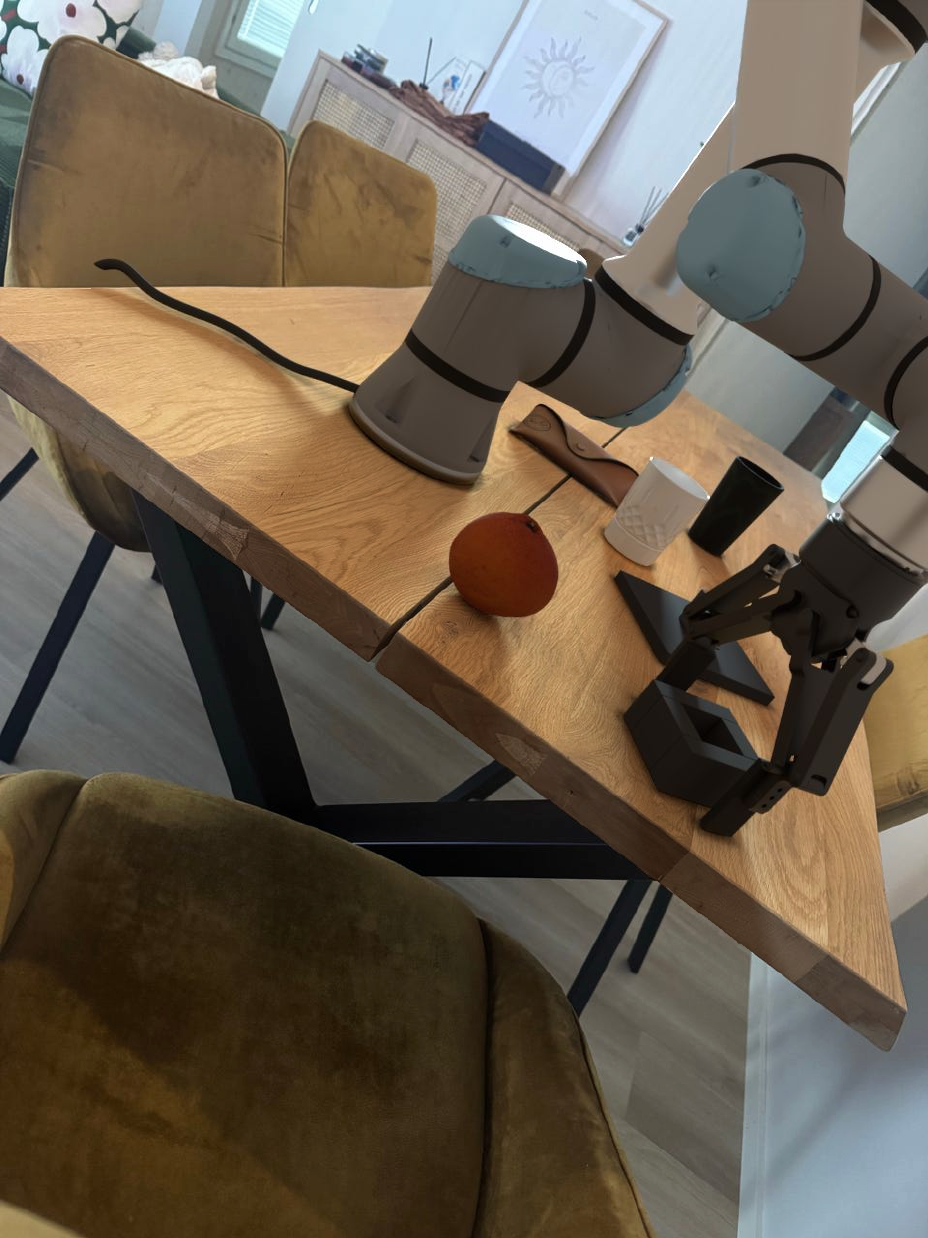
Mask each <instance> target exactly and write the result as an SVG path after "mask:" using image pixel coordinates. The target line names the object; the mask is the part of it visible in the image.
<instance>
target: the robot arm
mask: <svg viewBox="0 0 928 1238" xmlns="http://www.w3.org/2000/svg"><path fill="white" fill-rule="evenodd" d="M924 44H928V0H746V7H745V16H744V24H743V32H742V40H741V48H740V55H739V56H740V57H739V65H738V72H737V81H736V89H735V97H734V102H733V103H732V104H731V106H730V107H729V109H728V110H727V112H726V113H725V115H724V116H723V117H722V119H721V120H720V122H719V123H718V125H717V126H716V127H715V129H714V130H713V132H712V133H711V134H710V136H709V137H708V138H707V140H706V142H705V143H704V145H703V146H702V147H701V149H700V150H699V152H698V153H697V154H696V155H695V157H694V158H693V160H692V161H691V163H690V164H689V166H688V167H687V168H686V170H685V171H684V173H683V174H682V176H681V177H680V179H679V180H678V182H677V183H676V184H675V186H673V188H672V190H671V191H670V193H669V194H668V195H667V197H666V198H665V200H664V201H663V202H662V204H661V205H660V207H659V208H658V210H657V211H656V213H655V214H654V215H653V217H652V218H651V220H650V221H649V222H648V224H647V225H646V227H645V228H644V229H643V231H642V232H641V233H640V236H639V237H638V238H637V240H636V241H635V242H634V244H633V245H632V247H631V248H630V249H629V251H628V253H626V254H624V255H620V256H614V257H610V258H606V259H604V260H603V261H602V263H601V264H600V265H599V267H598V269H597V270H596V272H595V273H594V274H593V275H592V277H591V278H587V277H586V272H587V268H588V264H587V262H586V260H585V259H584V258H583V257H582V256H581V255H580V254H579V253H577V252H576V251H574V250H573V249H571V248H570V247H569V246H567V245H565V244H563V243H562V242H559V241H557V240H555V239H553V238H551V237H550V236H549V235H547V234H545V233H543V232H541V231H539V230H537V229H535V228H532V227H530V226H528V225H526V224H524V223H521V222H519V221H516V220H513V219H510V218H507V217H504V216H502V215H496V214H482V215H478V216H476V217H474V219H472V220H471V221H470V222H469V223H468V225H467V227H466V228H465V230H464V231H463V233H462V235H461V236H460V238H459V239H458V241H457V243H456V244H455V246H454V247H452V248H451V249H450V251H449V252H448V256H447V259H446V262H445V263H444V265H443V266H442V269H441V271H440V272H439V274H438V276H437V279H436V280H435V282H434V284H433V285H432V288H431V290H430V291H429V293H428V295H427V297H426V298H425V300H424V303H423V305H422V306H421V307H420V310H419V312H418V313H417V315H416V317H415V319H414V320H413V323H412V325H411V327H410V329H409V330H408V332H407V334H406V336H405V337H404V339H403V341H402V342H401V344H400V346H399V347H398V348H397V349H396V350H395V351H394V352H393V353H392V354H390V355H389V356H388V358H386V359H385V360H384V361H383V362H382V363H381V364H380V365H379V366H377V368H376V369H374V371H372V372H371V373H370V374H369V375H368V376H367V377H366V378H365V379H363V381H361V383H360V384H359V383H356V382H354V381H350V380H348V379H345V378H342V377H340V376H337V375H334V374H331V373H328V372H326V371H322V370H319V369H316V368H312V367H310V366H306V365H303V364H301V363H298V362H296V361H293V360H292V359H290V358H288V357H286V356H285V355H282V354H281V353H279V352H277V351H276V350H275V349H273V348H272V347H270V346H269V345H268V344H266V343H264V342H263V341H262V340H261V339H260V338H258V337H256V336H254V335H253V334H252V333H250V332H248V331H247V330H245V328H242V327H240V326H239V325H237V324H235V323H233V322H231V321H230V320H228V319H225V318H223V317H221V316H219V315H216V314H215V313H212V312H210V311H207V310H205V309H202V308H199V307H197V306H194V305H192V304H188V303H186V302H184V301H181V300H179V299H176V298H175V297H172V296H170V295H168V294H166V293H165V292H163V291H161V290H160V289H158V288H156V287H155V286H154V285H152V284H151V283H150V282H149V281H147V280H146V279H145V277H144V276H143V275H142V274H141V273H140V272H139V271H137V270H136V269H135V268H134V267H133V266H132V265H131V264H129V263H128V262H126V261H123V260H121V259H118V258H104V259H100V260H97V261H95V262H93V265H94V266H95V267H96V268H98V269H100V270H103V271H111V270H114V271H119V272H121V273H123V274H124V275H125V276H126V277H128V278H129V280H131V281H132V283H134V284H135V285H136V286H137V287H138V288H139V289H140V290H141V291H142V292H143V293H144V294H146V295H147V296H148V297H149V298H151V299H152V300H154V301H156V302H158V303H159V304H162V305H164V306H165V307H167V308H170V309H172V310H175V311H177V312H179V313H181V314H183V315H187V316H189V317H192V318H195V319H197V320H200V321H203V322H205V323H208V324H210V325H213V326H215V327H217V328H219V329H221V330H223V331H225V332H226V333H229V334H231V335H233V336H235V337H236V338H238V339H240V340H241V341H242V342H244V343H246V344H248V345H249V346H250V347H252V348H253V349H255V350H256V351H257V352H259V353H260V354H262V355H263V356H264V357H266V358H267V359H269V360H271V362H274V363H275V364H277V365H279V366H280V367H282V368H284V369H286V370H287V371H290V372H292V373H294V374H297V375H300V376H303V377H306V378H310V379H312V380H316V381H320V382H322V383H325V384H328V385H330V386H333V387H337V388H339V389H342V390H344V391H347V392H350V393H352V396H351V398H350V400H349V402H348V410H349V413H350V416H351V417H352V418H353V420H354V422H355V423H356V424H357V426H358V427H359V428H360V429H361V430H362V431H363V432H364V433H365V435H367V436H368V438H370V439H371V440H372V441H374V443H376V444H377V445H378V446H379V447H380V448H382V449H383V450H385V451H386V452H388V453H389V454H391V455H392V456H394V457H395V458H397V459H398V460H400V461H401V462H403V463H404V464H406V465H408V466H410V467H412V468H414V469H415V470H417V471H419V472H421V473H424V474H426V475H428V476H430V477H433V478H436V479H437V480H441V481H443V482H448V483H452V484H457V485H470V484H473V483H475V482H476V481H477V480H478V479H479V478H480V476H481V474H482V472H483V471H484V469H485V466H486V465H487V462H488V459H489V455H490V451H491V447H492V443H493V439H494V436H495V431H496V428H497V423H498V419H499V416H500V411H501V409H502V407H503V405H505V402H506V400H507V398H508V397H509V395H510V394H511V393H512V391H513V389H514V388H515V386H516V384H517V383H518V382H520V383H522V384H524V385H526V386H528V387H530V388H532V389H533V390H536V391H538V392H539V393H542V394H543V395H546V396H548V397H550V398H552V399H554V400H556V401H558V402H560V403H561V404H564V405H566V406H568V407H569V408H572V409H574V410H575V411H577V412H579V414H580V415H582V416H583V417H585V418H587V419H589V420H593V421H597V422H601V423H603V424H606V425H608V426H610V427H613V428H617V429H627V428H630V427H633V428H634V427H638V426H641V425H643V424H646V423H648V422H650V421H652V420H653V419H655V418H656V417H658V416H659V415H660V414H661V413H662V412H664V411H665V410H666V409H667V408H668V407H669V406H670V405H671V404H672V403H673V402H674V400H675V399H676V398H677V397H678V396H679V394H680V393H681V391H682V390H683V388H684V386H685V384H686V382H687V380H688V377H687V375H686V373H688V372H690V371H691V369H692V365H693V349H692V346H691V344H690V342H691V340H692V339H693V338H694V336H695V335H696V334H697V333H698V330H699V329H698V317H697V312H698V311H697V310H698V307H699V305H700V304H701V302H702V301H703V302H705V303H706V304H707V305H709V306H710V308H711V309H713V310H714V311H715V312H716V313H718V314H719V315H720V316H721V317H723V318H724V319H726V320H729V321H730V322H734V323H736V324H738V325H740V326H741V327H743V328H744V329H745V330H748V331H749V332H751V333H752V334H754V335H756V336H757V337H759V338H760V339H762V340H763V341H765V342H767V343H768V344H770V345H772V346H773V347H774V348H777V349H778V350H779V351H782V352H783V353H784V354H785V355H787V356H789V357H790V358H791V359H792V360H794V361H796V362H797V363H799V364H801V365H802V366H803V367H805V368H807V369H808V370H809V371H811V372H812V373H815V374H816V375H817V376H819V377H820V378H822V379H823V380H825V381H826V382H828V383H830V384H831V385H833V386H834V387H836V388H837V389H839V391H841V392H843V393H845V394H847V395H848V396H849V397H851V398H853V399H854V400H856V401H857V402H859V403H860V404H861V405H863V406H864V407H866V408H867V409H868V410H870V411H872V412H873V413H874V414H875V415H877V416H878V417H880V418H882V419H883V420H884V421H886V422H887V423H888V424H890V425H891V426H892V427H893V428H894V429H895V430H897V431H898V432H897V433H896V434H895V436H894V437H893V438H892V439H891V440H890V442H889V443H888V444H887V445H886V446H885V448H884V449H883V450H882V451H881V452H880V454H879V455H878V456H877V457H876V458H875V459H874V460H873V461H872V462H871V463H870V465H869V466H868V467H867V468H866V470H864V472H863V473H862V474H861V475H860V476H859V477H858V479H856V481H855V482H854V483H853V484H852V485H851V487H850V488H849V489H848V490H847V491H846V492H845V493H844V494H843V496H842V497H841V498H840V499H839V505H840V508H841V510H842V512H841V513H839V512H833V513H828V514H827V515H826V516H825V517H824V519H823V520H822V521H821V522H820V523H819V524H818V526H816V528H815V529H814V530H813V532H811V534H810V535H809V536H808V537H807V538H806V540H805V541H804V542H803V543H802V544H801V545H800V547H799V549H798V554H795V553H794V552H792V551H790V550H788V549H787V548H784V547H782V546H780V545H778V544H777V543H771V544H770V545H768V546H766V548H765V549H764V550H763V551H762V552H761V553H760V555H759V556H758V557H756V558H755V560H754V561H753V562H752V563H750V564H749V565H748V566H746V567H744V568H742V569H741V570H739V571H738V572H736V573H735V574H734V575H732V576H729V577H728V578H727V579H725V580H724V581H722V582H721V583H719V584H717V585H716V586H714V587H713V588H711V589H710V590H707V591H708V592H706V593H705V594H703V595H702V596H700V597H698V598H697V599H695V600H694V601H692V600H691V601H692V602H691V603H689V604H687V605H686V606H685V607H684V609H683V617H684V618H686V619H688V625H689V626H688V628H687V630H686V637H685V638H684V639H683V640H682V642H681V643H680V644H679V645H678V646H677V648H676V650H674V651H673V653H672V654H671V655H670V656H669V657H668V659H667V661H666V663H665V664H664V665H665V666H664V668H663V669H662V670H661V671H660V672H659V674H658V675H657V676H656V677H655V678H654V679H655V680H658V681H660V682H663V683H665V684H668V685H670V686H673V687H675V688H678V689H681V690H683V691H686V692H688V691H689V689H690V688H691V687H692V686H693V685H694V683H695V682H696V681H697V680H698V679H699V678H698V677H699V676H700V675H701V674H702V673H703V672H704V671H705V669H706V668H707V667H708V666H709V665H710V664H711V662H712V661H713V660H714V659H715V658H716V656H715V654H714V653H713V651H711V650H709V649H707V648H708V647H711V648H714V649H716V650H720V649H719V648H717V647H716V646H718V647H720V645H723V644H727V643H730V642H734V641H737V642H738V641H741V640H744V639H747V638H751V637H755V636H758V635H759V636H760V635H762V634H767V633H769V632H771V634H772V635H773V636H774V637H776V638H778V639H779V640H780V643H781V646H782V648H783V650H784V652H785V653H786V654H787V655H788V656H790V658H789V662H788V670H789V672H790V674H791V676H790V677H791V678H790V681H789V685H788V688H787V693H786V696H785V701H784V705H783V709H782V712H781V717H780V720H779V723H778V724H779V725H778V729H777V733H776V736H775V740H774V744H773V749H772V752H771V756H770V760H768V759H765V758H762V757H759V756H758V757H759V758H758V759H757V760H756V761H755V763H754V764H753V765H752V766H751V767H750V768H749V769H748V770H747V771H746V772H745V773H744V774H743V775H742V776H741V777H740V778H739V779H738V780H737V781H736V782H735V783H734V785H733V786H732V787H731V788H730V789H729V790H728V791H727V792H726V793H725V794H724V795H723V796H722V797H721V798H720V799H719V800H718V801H717V802H716V803H715V804H714V805H713V807H712V808H710V809H708V810H707V812H706V813H705V814H704V815H703V816H702V817H701V818H700V819H699V820H698V821H699V823H700V825H701V827H702V829H703V830H706V831H709V832H713V833H714V834H715V833H716V834H719V835H722V836H725V837H729V838H733V836H734V835H735V834H737V832H738V831H739V830H740V829H742V827H743V826H744V825H746V823H747V822H748V821H749V820H751V818H752V817H753V816H754V815H756V814H759V815H764V814H766V813H769V812H770V811H771V810H772V809H773V808H774V806H776V805H777V804H778V803H779V801H780V800H781V799H783V798H784V797H785V796H786V795H787V793H789V792H790V791H791V790H792V789H793V788H794V789H797V790H800V791H802V792H806V793H808V794H811V795H814V796H817V797H820V798H821V797H824V796H826V795H827V794H828V792H829V790H830V789H831V786H832V784H833V782H834V780H835V778H836V775H837V773H838V771H839V770H840V767H841V765H842V763H843V760H844V758H845V756H846V755H847V752H848V750H849V748H850V745H851V743H852V741H853V739H854V737H855V735H856V734H857V733H856V732H857V731H858V728H859V726H860V725H861V722H862V720H863V717H864V715H865V713H866V711H867V709H868V706H869V705H870V702H871V700H872V698H873V696H874V694H875V693H876V691H878V689H879V688H880V687H881V686H882V685H883V684H884V682H885V681H886V680H887V679H888V678H889V677H890V676H891V675H892V673H893V672H894V669H895V665H894V662H893V660H891V659H889V658H887V657H886V656H883V655H881V654H879V653H877V652H876V651H875V650H874V649H873V648H872V647H871V646H870V645H869V644H868V643H867V640H868V637H869V635H870V633H871V632H872V630H873V629H874V628H875V627H876V626H877V625H879V624H881V623H883V622H886V621H890V620H891V619H893V618H895V617H896V615H897V614H898V613H899V612H900V611H902V609H903V608H904V607H905V606H906V605H907V604H908V603H909V602H910V601H911V599H912V598H914V596H916V594H918V593H919V591H920V590H921V589H922V588H923V587H924V586H925V584H924V581H925V576H924V575H923V572H924V571H925V572H928V299H927V298H926V297H925V296H924V295H922V294H920V293H919V292H918V291H917V290H915V289H914V288H913V287H912V286H911V285H909V284H908V283H907V282H905V280H903V279H901V278H900V277H899V276H898V275H896V274H895V273H893V272H892V271H891V270H890V269H888V268H887V267H886V266H884V265H883V264H882V263H880V262H879V261H878V260H877V259H875V257H873V256H872V255H871V254H870V253H868V252H867V251H866V250H865V249H863V248H862V247H861V246H859V245H858V244H857V243H856V242H855V241H854V240H852V239H851V238H850V237H848V236H847V234H846V232H845V230H844V220H845V210H846V191H847V183H848V182H847V181H848V172H849V161H850V149H851V140H852V139H851V138H852V128H853V116H854V106H855V103H856V102H857V101H858V99H860V97H861V96H862V94H863V93H864V92H865V90H866V89H867V88H868V87H869V85H870V84H871V83H872V81H873V80H874V79H875V77H876V76H877V75H878V74H879V73H880V71H881V70H882V69H884V68H886V67H887V66H888V67H889V66H892V65H895V64H898V63H902V62H907V61H912V59H913V58H914V57H915V56H916V54H918V52H919V50H920V49H921V48H922V47H923V46H924ZM776 588H778V589H777V591H776V592H774V593H772V594H769V595H767V594H768V593H770V592H773V590H775V589H776ZM707 610H709V611H707ZM817 664H820V667H818V666H816V665H817ZM791 759H792V760H791Z"/></svg>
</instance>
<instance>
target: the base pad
mask: <svg viewBox="0 0 928 1238" xmlns="http://www.w3.org/2000/svg"><path fill="white" fill-rule="evenodd" d="M613 580H614V582H615V583H616V585H617V587H618V589H619V590H620V592H621V594H622V596H623V598H624V599H625V601H626V603H627V605H628V607H629V608H630V610H631V612H632V614H633V616H634V617H635V619H636V621H637V623H638V624H639V626H640V628H641V630H642V632H643V634H644V635H645V637H646V639H647V640H648V642H649V644H650V646H651V648H652V649H653V651H654V653H655V655H656V656H657V659H658V660H659V663H661V664H664V665H665V663H666V661H667V659H668V657H669V656H670V655H671V654H672V653H673V651H674V650H676V648H677V646H678V645H679V644H680V643H681V642H682V640H683V639H684V638H685V637H686V630H687V628H688V626H689V625H688V619H686V618H684V617H683V609H684V607H685V606H686V605H687V604H689V603H691V602H692V601H694V600H695V599H697V598H698V597H700V596H702V595H703V594H705V593H706V592H708V591H709V590H705V589H703V588H701V589H700V590H699V591H698V592H697V594H696V595H695V596H694V598H693V599H692V600H689V599H686V598H684V597H682V596H680V595H677V594H675V593H673V592H671V591H670V590H666V589H664V588H662V587H660V586H658V585H655V584H654V583H651V582H648V581H646V580H644V579H642V578H640V577H638V576H635V575H633V574H631V573H629V572H626V571H624V570H622V569H619V570H618V572H617V573H616V574H615V576H613ZM707 611H709V610H707ZM716 647H717V648H719V649H720V650H716V649H714V648H711V647H708V648H707V649H709V650H711V651H713V653H714V654H715V656H716V658H715V659H714V660H713V661H712V662H711V664H710V665H709V666H708V667H707V668H706V669H705V671H704V672H703V673H702V674H701V675H700V676H699V677H698V679H701V680H703V681H706V682H708V683H710V684H713V685H716V686H718V687H720V688H723V689H725V690H727V691H731V692H733V693H736V694H738V695H740V696H743V697H745V698H748V699H750V700H753V701H754V702H757V703H760V704H762V705H765V706H769V705H770V704H771V703H772V702H773V701H774V700H775V699H776V696H775V694H774V693H773V691H772V690H771V688H770V687H769V685H768V684H767V683H766V681H765V680H764V678H763V677H762V675H761V674H760V672H759V671H758V669H757V668H756V666H755V665H754V663H753V662H752V660H751V659H750V658H749V656H748V655H747V653H746V652H745V650H744V649H743V648H742V645H740V643H739V641H738V640H737V641H734V642H730V643H727V644H723V645H720V647H718V646H716Z"/></svg>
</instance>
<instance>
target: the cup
mask: <svg viewBox="0 0 928 1238" xmlns="http://www.w3.org/2000/svg"><path fill="white" fill-rule="evenodd" d="M784 491H785V487H784V485H783V484H782V483H781V482H780V481H779V480H778V479H777V478H776V477H774V475H772V474H771V473H770V472H769V471H767V470H765V469H764V468H763V467H761V466H760V465H758V464H757V463H756V462H753V461H752V460H750V459H749V458H746V457H744V456H742V455H736V456H735V457H734V459H733V460H732V462H731V463H730V465H729V467H728V469H726V472H725V473H724V474H723V476H722V478H721V479H720V480H719V482H718V484H717V485H716V487H715V488H714V490H713V491H712V493H711V495H709V497H710V499H709V500H708V502H707V503H706V504H705V505H704V506H703V507H702V509H701V510H700V511H699V512H698V513H699V514H697V515H696V516H697V517H696V518H695V520H693V523H692V524H691V525H690V527H689V529H688V531H687V535H688V536H689V538H690V539H691V540H692V541H693V542H694V543H695V544H696V545H698V546H699V547H700V548H701V549H702V550H704V551H705V552H708V553H709V554H711V555H713V556H716V557H721V556H722V555H724V553H725V552H726V551H728V549H729V548H730V547H731V546H732V545H733V544H734V543H735V542H736V541H737V540H738V538H740V536H741V535H743V534H744V532H746V531H747V530H748V528H749V527H751V525H752V524H753V523H754V522H755V521H756V520H757V519H758V518H759V517H760V516H761V515H762V514H763V513H764V512H765V511H766V510H767V509H768V508H769V507H770V506H771V505H772V504H773V503H774V502H775V501H776V500H777V499H778V498H779V497H780V496H781V494H783V492H784Z"/></svg>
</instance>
